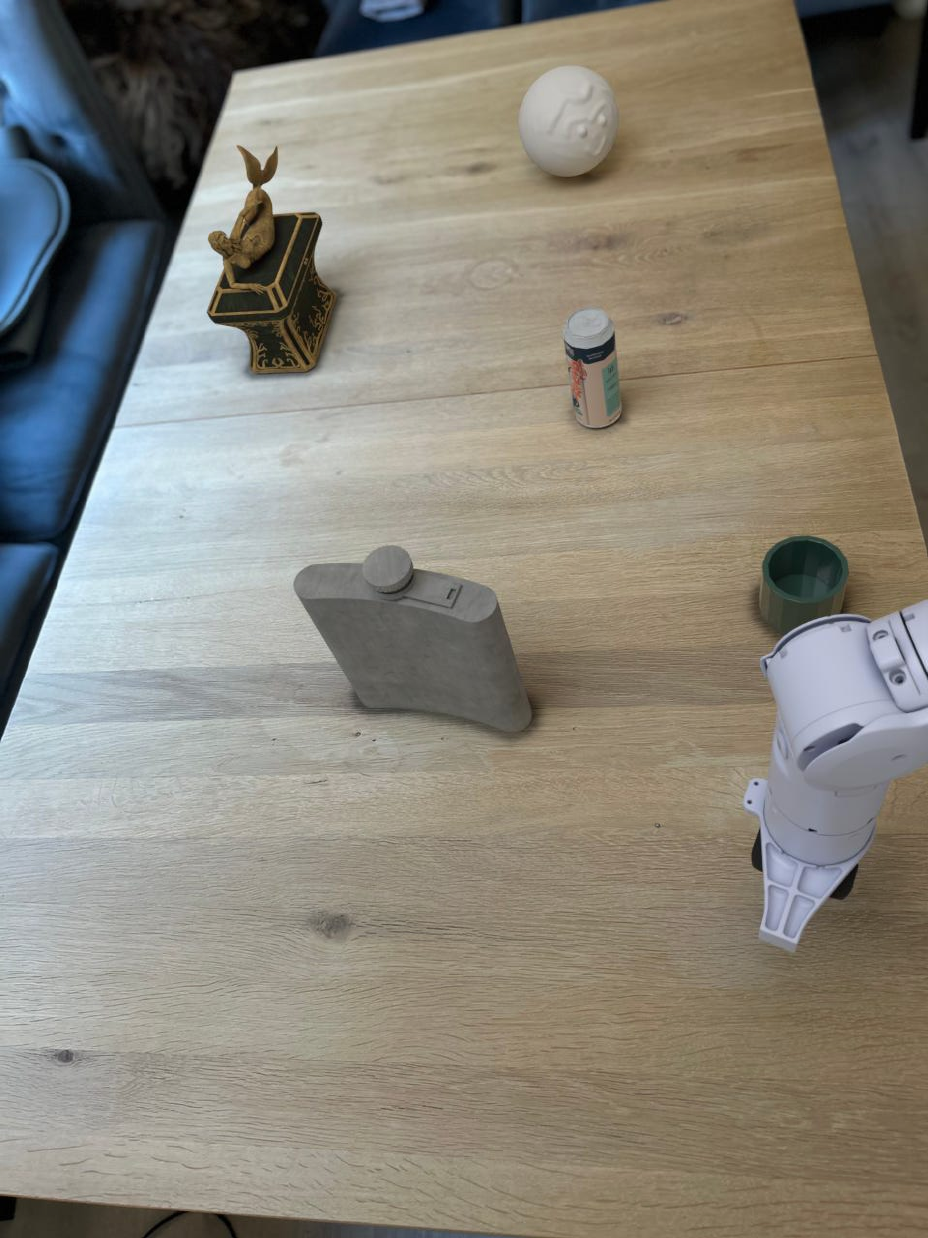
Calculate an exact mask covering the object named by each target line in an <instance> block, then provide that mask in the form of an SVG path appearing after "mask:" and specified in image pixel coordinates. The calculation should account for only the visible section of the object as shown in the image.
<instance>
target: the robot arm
mask: <svg viewBox="0 0 928 1238" xmlns="http://www.w3.org/2000/svg"><path fill="white" fill-rule="evenodd" d="M759 666H760V670H761V672H762V674H763V676H764V678H765V680H766V681H767V682H768V684H769V686H770V689H771V692H772V695H773V697H774V701H775V704H776V708H777V710H776V717H775V726H774V731H773V736H772V743H771V749H770V758H769V764H768V765H769V766H768V775H767V779H766V778H763V777H759V776H758V777H757V776H755V777H753V778H751V779H750V781H749V782H748V783H747V787H746V790H745V793H744V796H743V798H742V809H743V810H744V812H746V813H747V814H748V815H752V816H755V817H756V818H757V820H758V821H759V828H758V831H757V834H756V837H755V839H754V843H753V846H752V849H751V853H750V854H751V855H750V859H751V861H750V862H751V866H752V867H753V868H754V869H755V870H757V871H758V872H761V873H762V884H763V913H762V914H763V915H762V917H761V918H762V919H761V923H760V925H759V930H758V936H757V939H758V940H759V941H762V942H765V943H767V944H769V945H771V946H775V947H776V948H779V949H782V950H785V951H787V952H789V953H792V954H795V953H796V951H797V948H798V946H799V945H798V944H799V942H800V939H801V937H802V934H803V933H804V930H805V929H806V926H807V925H808V924H809V922H810V921H811V919H812V918H813V917H814V916H815V914H816V913H817V912H818V911H819V910H820V908H821V907H822V906H823V905H824V903H825V902H826V901H827V900H828V898H830V899H832V900H838V901H843V900H845V899H846V898H847V897H848V896H849V895H850V893H851V892H852V890H853V887H854V884H855V880H856V877H857V874H858V870H859V868H860V867H859V866H860V865H859V864H858V863H859V862H860V861H861V860H862V858H863V857H864V856H865V855H866V853H868V850H869V849H870V847H871V845H872V843H873V840H874V837H875V835H876V829H877V819H878V817H879V814H880V812H881V808H882V807H883V804H884V800H885V798H886V796H887V792H888V790H889V787H890V785H891V783H892V781H895V780H898V779H901V778H903V777H905V776H908V775H910V774H912V773H914V772H916V771H917V770H920V769H921V768H923V767H924V766H925V765H927V764H928V598H927V599H924V600H922V601H918V602H915V603H913V604H911V605H909V606H906V607H904V608H901V610H899V609H898V610H896V611H894V612H890V613H888V614H886V615H884V616H881V617H878V618H876V619H874V620H872V619H871V618H869V617H867V616H864V615H861V614H856V613H840V614H838V615H831V616H829V617H827V616H826V617H822V618H819V619H816V620H813V621H810V622H807V623H805V624H803V625H801V626H799V627H797V628H795V629H794V630H792V631H790V632H789V633H788V634H786V635H783V636H782V637H781V639H779V640H778V642H777V643H776V644H775V646H774V648H773V650H772V651H771V652H770V653H768V654H766V655H763V656H761V657H760V659H759Z"/></svg>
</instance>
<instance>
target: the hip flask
mask: <svg viewBox="0 0 928 1238" xmlns="http://www.w3.org/2000/svg"><path fill="white" fill-rule="evenodd" d="M292 588H293V590H294V593H295V594H296V597H297V598H298V600H299V601H300V603H301V604H302V606H303V608H304V610H305V611H306V613H307V614H308V616H309V618H310V619H311V621H312V623H313V624H314V626H315V627H316V629H317V632H319V634H320V636H321V637H322V639H323V641H324V643H325V644H326V646H327V647H328V649H329V650H330V653H331V654H332V656H333V657H334V659H335V661H336V663H337V664H338V666H339V667H340V669H341V671H342V672H343V674H344V677H346V679H347V681H348V683H349V684H350V686H351V687H352V689H353V690H354V692H355V694H356V695H357V697H358V699H359V700H360V702H361V703H362V705H364V706H365V707H366V708H369V709H402V710H406V709H407V710H416V711H425V712H432V713H437V714H443V715H450V716H454V717H458V718H463V719H466V720H470V721H474V722H478V723H480V724H485V725H487V726H490V727H493V728H494V729H497V730H500V731H503V732H505V733H509V734H510V733H511V734H515V733H519V732H522V731H524V730H525V729H526V728H527V727H528V726H530V724H531V721H532V718H533V711H532V708H531V704H530V701H529V698H528V694H527V691H526V688H525V685H524V681H523V678H522V676H521V672H520V669H519V665H518V663H517V658H516V655H515V652H514V649H513V646H512V643H511V639H510V636H509V633H508V630H507V626H506V623H505V620H504V617H503V613H502V609H501V607H500V604H499V600H498V597H497V594H496V592H495V591H494V590H493V589H492V588H490V587H489V586H486V585H484V584H481V583H478V582H475V581H472V580H468V579H465V578H462V577H458V576H453V575H450V574H446V573H440V572H436V571H431V570H425V569H419V568H414V563H413V561H412V558H411V555H410V553H409V552H408V551H407V550H406V549H405V548H403V547H402V546H398V545H394V544H390V545H388V544H387V545H383V546H380V547H378V548H376V549H374V550H373V551H372V552H369V554H368V555H367V556H366V558H365V559H364V561H363V563H362V562H361V563H360V562H329V563H325V562H324V563H314V564H310V565H307V566H305V567H304V568H302V569H301V570H300V571H299V572H298V573H297V574H296V576H295V577H294V579H293V585H292Z"/></svg>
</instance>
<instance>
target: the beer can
mask: <svg viewBox="0 0 928 1238" xmlns="http://www.w3.org/2000/svg"><path fill="white" fill-rule="evenodd" d="M566 319H567V320H566V322H565V324H564V326H563V329H562V337H563V344H564V351H565V358H566V364H567V365H566V366H567V371H568V378H569V385H570V391H571V397H572V402H573V403H572V404H573V410H574V412H573V413H574V417H575V419H576V421H578V423H580V424H581V425H582V426H584V427H587V428H592V429H600V428H604V427H607V426H610V425H612V424H613V423H615V422H616V421H617V420H618V419H619V418H620V416H621V414H622V412H623V407H622V406H623V405H622V397H621V385H620V375H619V364H618V353H617V343H616V342H617V341H616V331H615V323H614V321H613V320H612V319H611V317H610V316H609V315H608V314H607V313H606V312H605V311H604V310H603V309H602V308H598V307H592V306H591V307H590V306H588V307H584V308H581V309H577V310H575V311H574V312H573V313H572V314H570V315H569V316H568V317H567V318H566Z"/></svg>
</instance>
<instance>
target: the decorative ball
mask: <svg viewBox="0 0 928 1238" xmlns="http://www.w3.org/2000/svg"><path fill="white" fill-rule="evenodd" d="M619 117H620V116H619V106H618V102H617V99H616V96H615V93H614V91H613V89H612V87H611V85H610V84H609V83H608V81H607V80H606V79H605V78H604V76H602V75H600V74H599V73H597V72H596V71H594V70H592V69H590V68H588V67H584V66H580V65H571V64H569V65H561V66H558V67H554V68H552V69H550V70H548V71H546V72H545V73H543V74H542V75H540V76H539V77H538V78H537V79H536V80H535V81H534V82H533V83H532V85H530V87H529V88H528V89H527V92H526V93H525V95H524V97H523V100H522V102H521V105H520V108H519V112H518V123H517V124H518V134H519V139H520V142H521V145H522V148H523V150H524V152H525V154H526V155H527V156H528V158H529V159H530V161H531V162H532V163H533V164H534V165H535V166H536V167H537V168H538V169H540V170H542V171H544V172H545V173H547V174H550V175H553V176H557V177H562V178H571V177H576V176H580V175H583V174H585V173H588V172H590V171H591V170H593V169H595V168H596V167H598V166H599V164H600V163H602V162H603V160H604V159H605V158H606V157H607V155H608V154H609V152H610V151H611V149H612V147H613V145H614V143H615V141H616V137H617V134H618V129H619V123H620V122H619Z"/></svg>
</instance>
